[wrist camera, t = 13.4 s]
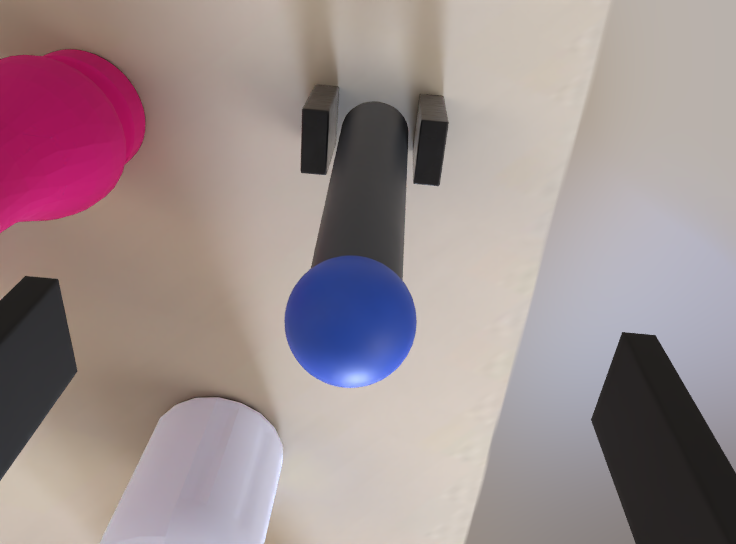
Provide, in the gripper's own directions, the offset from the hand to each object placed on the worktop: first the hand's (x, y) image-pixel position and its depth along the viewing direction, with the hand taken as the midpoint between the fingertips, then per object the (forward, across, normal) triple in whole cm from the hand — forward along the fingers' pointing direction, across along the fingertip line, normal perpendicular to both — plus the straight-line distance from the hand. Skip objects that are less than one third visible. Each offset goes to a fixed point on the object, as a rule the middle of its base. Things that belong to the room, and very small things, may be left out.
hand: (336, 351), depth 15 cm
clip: (+19, 0, 0) cm, 19 cm away
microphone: (+10, 0, -3) cm, 11 cm away
